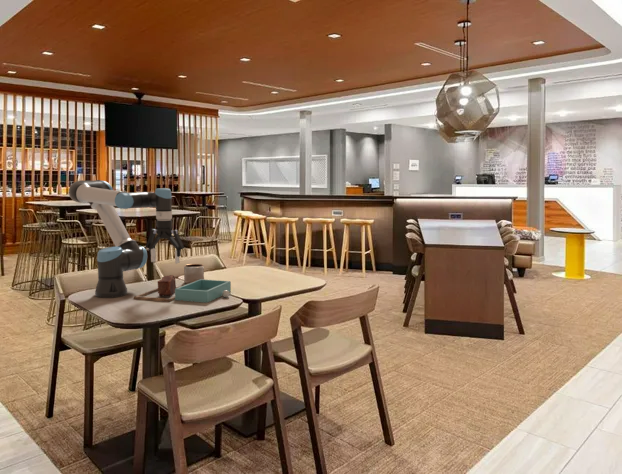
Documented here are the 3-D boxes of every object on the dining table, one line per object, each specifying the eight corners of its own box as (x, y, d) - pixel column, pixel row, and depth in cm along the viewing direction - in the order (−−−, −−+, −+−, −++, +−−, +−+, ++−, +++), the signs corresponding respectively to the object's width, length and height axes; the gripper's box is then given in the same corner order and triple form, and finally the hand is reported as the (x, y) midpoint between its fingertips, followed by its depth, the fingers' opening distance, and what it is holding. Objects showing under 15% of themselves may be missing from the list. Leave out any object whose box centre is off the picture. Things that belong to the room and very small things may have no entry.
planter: (194, 279, 302) (194, 263, 301) (208, 282, 296) (207, 265, 295) (180, 282, 294) (179, 265, 293) (193, 285, 287) (193, 267, 286)
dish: (175, 300, 253) (174, 288, 252) (200, 289, 277) (200, 279, 276) (207, 302, 248) (207, 291, 247) (230, 291, 272) (230, 281, 271)
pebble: (220, 297, 258) (220, 290, 257) (224, 296, 261) (224, 289, 261) (227, 298, 257) (227, 291, 256) (230, 296, 260) (230, 289, 260)
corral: (133, 298, 255) (133, 296, 254) (163, 288, 279) (162, 286, 279) (169, 301, 249) (169, 299, 249) (195, 290, 273) (195, 288, 273)
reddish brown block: (170, 299, 256) (170, 280, 255) (156, 299, 255) (156, 280, 254) (176, 290, 274) (176, 273, 273) (163, 290, 273) (163, 273, 272)
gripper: (137, 219, 259) (139, 262, 262) (182, 221, 252) (183, 264, 255) (146, 218, 267) (147, 259, 269) (190, 219, 260) (191, 262, 262)
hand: (165, 262), depth 262 cm, fingers open, 13 cm apart
